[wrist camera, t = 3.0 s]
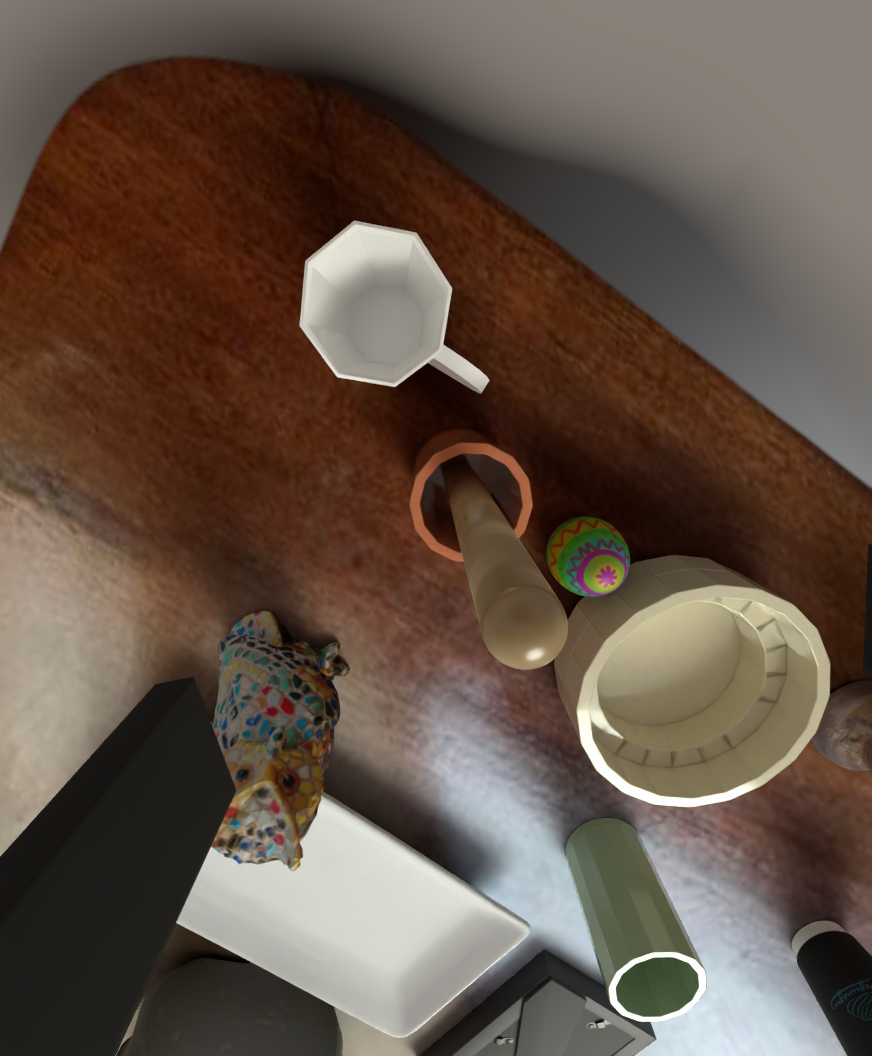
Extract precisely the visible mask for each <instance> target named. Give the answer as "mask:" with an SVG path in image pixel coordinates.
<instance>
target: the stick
mask: <svg viewBox="0 0 872 1056" xmlns="http://www.w3.org/2000/svg"><path fill="white" fill-rule="evenodd" d="M444 483H445V487H446V491H447V495H448V499H449V503H450V507H451V512H452V516H453V520H454V524H455V528H456V532H457V536H458V540H459V544H460V548H461V552H462V557H463V561H464V565H465V569H466V573H467V577H468V581H469V585H470V589H471V593H472V597H473V602H474V606H475V610H476V614H477V618H478V622H479V626H480V630H481V634H482V638H483V640H484V643H485V645H486V646H487V648H488V650H489V651H490V653H491V654H492V655H493V656H494V657H495V658H496V659H497V660H499V661H500V662H502V663H503V664H505V665H507V666H509V667H513V668H516V669H523V670H529V669H536V668H539V667H542V666H544V665H546V664H548V663H549V662H551V661H552V660H553V659H554V658H555V657H556V656H557V655H558V654H559V653H560V651H561V650H562V648H563V646H564V644H565V642H566V639H567V633H568V620H567V616H566V613H565V610H564V608H563V606H562V604H561V602H560V601H559V599H558V598H557V596H556V595H555V593H554V592H553V590H552V589H551V587H550V585H549V584H548V582H547V581H546V579H545V578H544V576H543V575H542V573H541V572H540V570H539V569H538V567H537V566H536V564H535V563H534V561H533V559H532V558H531V556H530V555H529V553H528V552H527V550H526V549H525V547H524V546H523V544H522V543H521V541H520V540H519V538H518V537H517V535H516V533H515V532H514V530H513V529H512V527H511V526H510V524H509V523H508V521H507V520H506V518H505V517H504V515H503V514H502V512H501V511H500V509H499V507H498V506H497V504H496V503H495V501H494V500H493V498H492V497H491V495H490V494H489V492H488V491H487V489H486V488H485V486H484V484H483V483H482V481H481V480H480V478H479V477H478V475H477V474H476V472H475V471H474V469H473V468H472V467H471V466H470V465H469V464H467V463H464V462H456V463H453V464H451V465H450V466H449V467H448V468H447V469H446V471H445V474H444Z"/></svg>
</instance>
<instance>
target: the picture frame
mask: <svg viewBox="0 0 872 1056" xmlns="http://www.w3.org/2000/svg"><path fill="white" fill-rule="evenodd" d="M655 1040H656V1037H655V1034H654V1031H653V1028H652V1025H651V1023H650V1021H648V1022H640V1021H637V1020H634V1019H631V1018H628V1017H625V1016H622V1015H621V1014H620V1013H619V1012H618V1011H617V1010H616V1009H615V1008H614V1007H613V1006H612V1005H611V1003H610V1001H609V998H608V994H607V991H606V988H605V987H603V986H602V985H600V984H599V983H597V982H595V981H594V980H592V979H590V978H589V977H587V976H586V975H584V974H582V973H581V972H579V971H578V970H576V969H574V968H573V967H571V966H569V965H568V964H566V963H565V962H563V961H561V960H560V959H558V958H556V957H555V956H553V955H552V954H550V953H548V952H547V951H545V950H544V951H543V952H542V953H540V954H539V955H538V956H537V957H536V958H535V959H533V960H532V961H531V962H530V963H529V964H528V965H526V966H525V967H524V968H523V969H522V970H521V971H519V972H518V973H517V974H516V975H515V976H514V977H512V978H511V979H510V980H509V981H508V982H507V983H505V984H504V985H503V986H502V987H501V988H499V989H498V990H497V991H496V992H495V993H494V994H492V995H491V996H490V997H489V998H488V999H487V1000H485V1001H484V1002H483V1003H482V1004H481V1005H480V1006H478V1007H477V1008H476V1009H475V1010H474V1011H473V1012H471V1013H470V1014H469V1015H468V1016H467V1017H466V1018H464V1019H463V1020H462V1021H461V1022H460V1023H459V1024H457V1025H456V1026H455V1027H454V1028H453V1029H452V1030H450V1031H449V1032H448V1033H447V1034H446V1035H445V1036H443V1037H442V1038H441V1039H440V1040H439V1041H438V1042H436V1043H435V1044H434V1045H433V1046H432V1047H430V1048H429V1049H428V1050H427V1051H426V1052H425V1053H423V1054H422V1055H421V1056H635V1055H636V1054H637V1053H639V1052H640V1051H641V1050H643V1049H644V1048H645V1047H647V1046H648V1045H649V1044H651V1043H652V1042H653V1041H655Z"/></svg>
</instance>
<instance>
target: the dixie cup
mask: <svg viewBox="0 0 872 1056" xmlns="http://www.w3.org/2000/svg"><path fill="white" fill-rule="evenodd" d="M792 950H793V952H794V954H795V956H796V957H797V964H798V966H799V968H800V970H801V972H802V973H803V975H804V977H805V979H806V981H807V983H808V984H809V986H810V988H811V990H812V992H813V994H814V995H815V997H816V999H817V1001H818V1003H819V1005H820V1006H821V1008H822V1010H823V1012H824V1014H825V1016H826V1018H827V1019H828V1021H829V1023H830V1025H831V1027H832V1029H833V1030H834V1032H835V1034H836V1036H837V1038H838V1040H839V1041H840V1043H841V1045H842V1047H843V1049H844V1051H845V1052H846V1054H847V1056H872V956H871V955H870V954H869V953H868V952H867V951H866V950H865V949H864V948H863V947H862V945H861V944H860V943H859V942H858V941H857V940H856V939H855V938H854V937H853V936H852V935H850V934H848V933H846V932H845V931H844V930H843V928H842V927H841V926H840V925H838V924H837V923H835V922H831V921H817V922H813V923H810V924H808V925H806V926H804V927H803V928H801V929H800V930H799V931H798V932H797V933H796V934H795V936H794V938H793V940H792Z"/></svg>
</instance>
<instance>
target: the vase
mask: <svg viewBox="0 0 872 1056" xmlns="http://www.w3.org/2000/svg"><path fill="white" fill-rule="evenodd" d="M565 855H566V859H567V862H568V868H569V871H570V874H571V877H572V881H573V884H574V887H575V890H576V894H577V897H578V900H579V903H580V907H581V910H582V913H583V916H584V920H585V923H586V926H587V929H588V933H589V936H590V939H591V942H592V946H593V949H594V952H595V955H596V959H597V962H598V965H599V968H600V972H601V975H602V978H603V981H604V985H605V988H606V991H607V994H608V998H609V1001H610V1003H611V1005H612V1006H613V1007H614V1008H615V1009H616V1010H617V1011H618V1012H619V1013H620V1014H621V1015H622V1016H625V1017H628V1018H631V1019H634V1020H637V1021H640V1022H648V1021H664V1020H667V1019H670V1018H673V1017H676V1016H679V1015H681V1014H683V1013H684V1012H686V1011H687V1010H688V1009H690V1008H691V1007H692V1006H694V1005H695V1004H696V1003H697V1002H698V1001H699V999H700V998H701V996H702V994H703V992H704V990H705V989H706V974H705V969H704V967H703V965H702V963H701V961H700V959H699V957H698V955H697V953H696V951H695V949H694V947H693V945H692V943H691V941H690V939H689V937H688V934H687V932H686V930H685V928H684V926H683V924H682V922H681V920H680V918H679V916H678V914H677V912H676V910H675V908H674V906H673V904H672V902H671V900H670V898H669V896H668V894H667V891H666V889H665V887H664V885H663V883H662V881H661V879H660V877H659V875H658V873H657V871H656V869H655V867H654V865H653V863H652V861H651V859H650V857H649V855H648V853H647V850H646V848H645V846H644V844H643V842H642V840H641V839H640V838H639V836H638V834H637V832H636V831H635V829H634V828H633V827H632V826H630V825H629V824H628V823H626V822H624V821H622V820H619V819H615V818H598V819H594V820H591V821H588V822H586V823H584V824H582V825H581V826H579V827H578V828H577V829H576V830H575V831H574V832H573V833H572V834H571V835H570V837H569V839H568V841H567V843H566V848H565Z"/></svg>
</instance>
